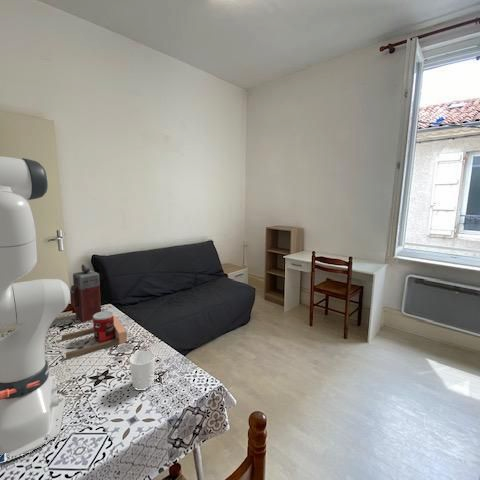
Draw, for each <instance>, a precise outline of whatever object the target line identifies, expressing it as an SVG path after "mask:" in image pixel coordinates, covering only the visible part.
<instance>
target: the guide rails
mask: <svg viewBox="0 0 480 480" xmlns="http://www.w3.org/2000/svg"><path fill="white" fill-rule="evenodd" d="M92 334H94V328H93V327H89V328H86V329H83V330H78V331H75V332H71V333H67V334H61V342H64V341H68V340H72V339H76V338H79V337H80V338H81V337H84V336H88V335H92ZM117 345H120V344H119V339H118V338H117V339H116V338H113V339H111V340H109V341H106V342H98V343H96V344H93V345H89V346H85V347H82V348H79V349H75V350H71V351H68V352H65V359H66V360H70V359H74V358H77V357H80V356H84V355H88V354H90V353H94V352H97V351H101V350H104V349H108V348H110V347H113V346H117Z"/></svg>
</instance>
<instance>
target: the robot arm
mask: <svg viewBox="0 0 480 480" xmlns="http://www.w3.org/2000/svg"><path fill="white" fill-rule="evenodd" d="M48 187H49V178H48V174H47V173H46V170H45V167H44V166H43V165H42V164H41V163H40V162H39V161H36V160H33V159H29V158H16V157H10V156H2V155H1V156H0V329H3V328H7V327H12V326H15V325H17V327H16V328H15V330H13V331H12V332H10V333H9V334H8V335H6V336H4V337H3V338H1V340H0V455H1V456H2V455H3V454H5V453H9V456H10V457H12V456H17V455H21V454H24V453H27V452H29V451H31V450H34V449H37V448H39V447H40V446H42V445H44V444H45V443H46V442H48V441H50V440H51V439H52V438H54V437H56V436H57V435H58V434H59V435H60V433H61V429H60V427H61V428H62V423H61V422H62V421H63V416H64V415H63V414H64V412H65V404H66V395H62V394H60V395H59V394H58V392H57V391H58V385H57V382H56V377H55V376H54V375H51V374H50V373H49V369H50V367H49V364H48V361H47V359H46V349H45V348H46V346H45V345H46V337H47V336H46V335H47V334H48V331H49V328H50V326H51V325H52V324H53V322H54V321H55V319H56V318H57V317H58V316H59V315H60V314H62V313H63V312H64V311H65V310H66V308H67V307H68V305H69V303H70V302H71V297H70V290H71V289H70V288H69V286H68V284H67V283H66V282H65V281H63V280H62V279H60V278H39V279H38V278H37V279H33V280H27V281H19V282H16V281H17V280H19V279H21V278H23V277H25V276H26V275H27V274H29V273H30V272H31V271H32V270H33V269H34V268H35V267H36V266H37V262H38V250H37V249H38V247H37V234H36V233H37V231H36V226H35V220H34V215H33V212H32V209H31V206H30V205H31V204H30V203H29V201H32V200H36V199H40V198H43V197H44V196H45V195H46V193H47V192H48ZM59 432H60V433H59ZM59 435H58V436H59ZM58 436H57V437H58ZM57 437H56V438H57ZM46 438H48V439H47V440H45V439H46ZM39 449H40V448H39ZM37 450H38V449H37ZM1 456H0V457H1ZM9 456H8V457H9Z"/></svg>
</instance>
